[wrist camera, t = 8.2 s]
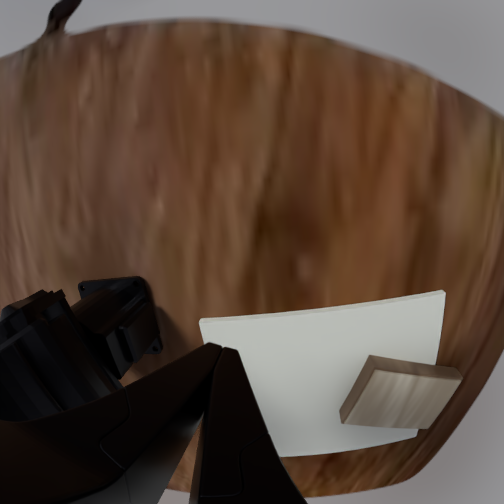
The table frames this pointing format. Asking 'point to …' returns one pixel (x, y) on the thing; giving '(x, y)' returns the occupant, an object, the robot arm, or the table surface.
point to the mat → (326, 364)
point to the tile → (398, 394)
